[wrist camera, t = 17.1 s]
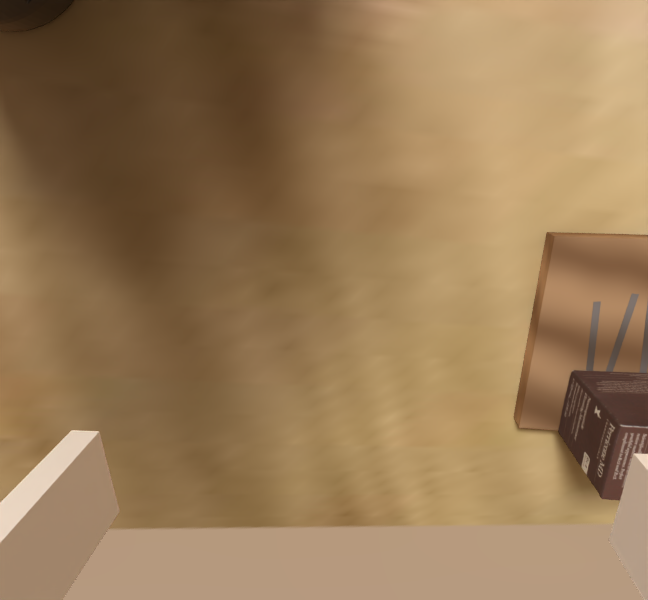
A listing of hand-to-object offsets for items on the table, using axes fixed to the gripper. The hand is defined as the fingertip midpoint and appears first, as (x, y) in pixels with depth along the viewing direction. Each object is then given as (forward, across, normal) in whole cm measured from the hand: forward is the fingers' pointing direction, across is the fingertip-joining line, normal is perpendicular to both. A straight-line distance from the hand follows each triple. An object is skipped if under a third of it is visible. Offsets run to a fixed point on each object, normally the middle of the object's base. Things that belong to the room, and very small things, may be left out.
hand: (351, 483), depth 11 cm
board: (+24, +20, -7) cm, 32 cm away
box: (+23, +19, -12) cm, 32 cm away
